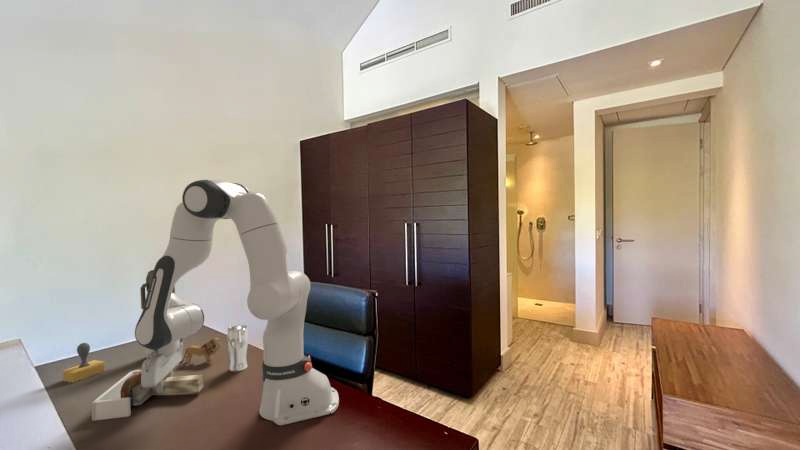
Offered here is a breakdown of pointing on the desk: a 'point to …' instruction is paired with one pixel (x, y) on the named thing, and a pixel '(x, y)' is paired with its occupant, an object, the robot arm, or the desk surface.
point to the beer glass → (237, 347)
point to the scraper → (169, 387)
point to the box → (112, 402)
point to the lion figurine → (203, 350)
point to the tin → (130, 386)
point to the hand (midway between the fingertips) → (164, 388)
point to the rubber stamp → (83, 366)
